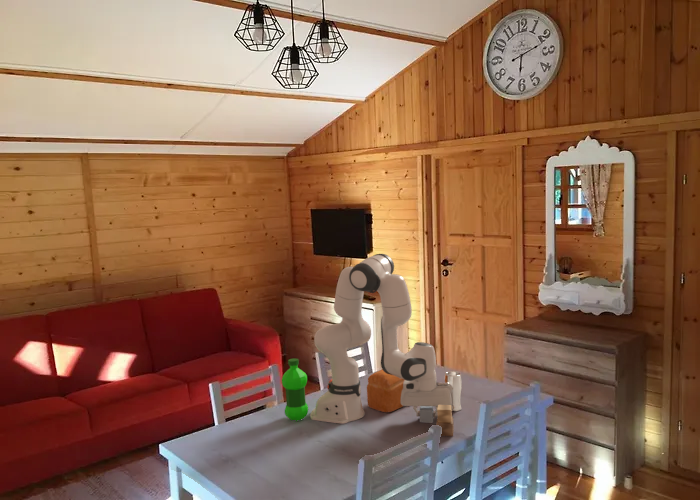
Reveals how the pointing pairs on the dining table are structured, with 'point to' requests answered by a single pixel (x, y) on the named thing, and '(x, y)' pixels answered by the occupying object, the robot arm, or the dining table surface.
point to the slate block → (426, 414)
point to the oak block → (444, 413)
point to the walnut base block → (446, 428)
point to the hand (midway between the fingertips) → (426, 416)
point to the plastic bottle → (295, 391)
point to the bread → (384, 391)
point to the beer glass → (454, 388)
